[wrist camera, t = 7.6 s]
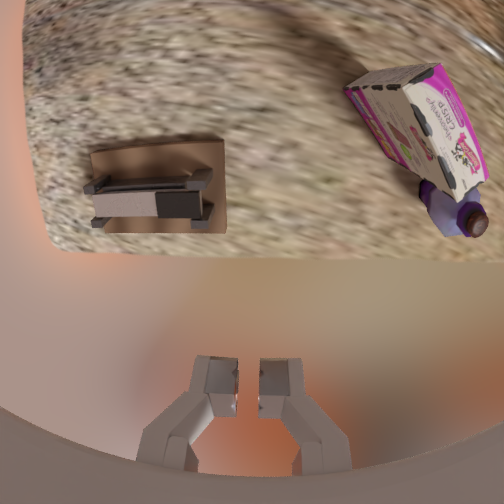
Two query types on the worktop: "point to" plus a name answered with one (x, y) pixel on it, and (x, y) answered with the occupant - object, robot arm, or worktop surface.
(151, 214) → the clamp bar
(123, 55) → the worktop surface
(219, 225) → the walnut base plate
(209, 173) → the block
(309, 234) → the worktop surface
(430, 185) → the potion bottle
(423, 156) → the candy bar box
